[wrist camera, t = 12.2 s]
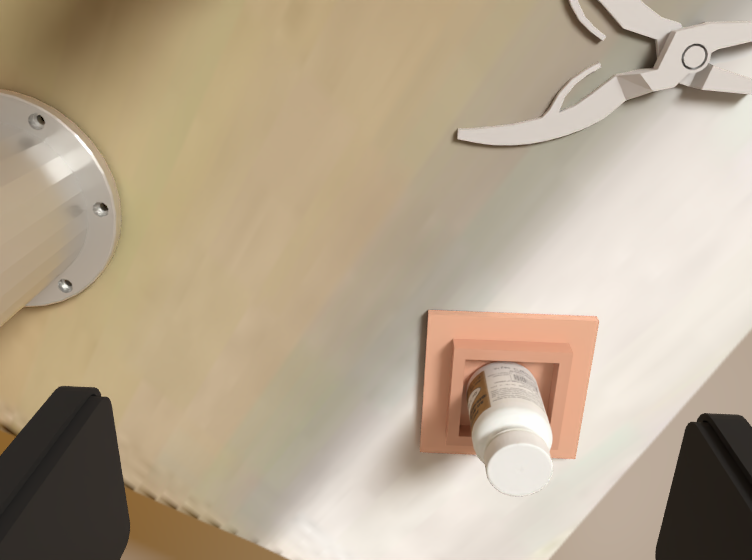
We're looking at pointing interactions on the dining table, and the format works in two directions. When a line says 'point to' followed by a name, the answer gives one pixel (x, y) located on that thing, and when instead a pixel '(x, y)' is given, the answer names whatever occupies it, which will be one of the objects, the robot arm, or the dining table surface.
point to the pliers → (632, 73)
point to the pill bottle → (510, 428)
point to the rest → (505, 343)
